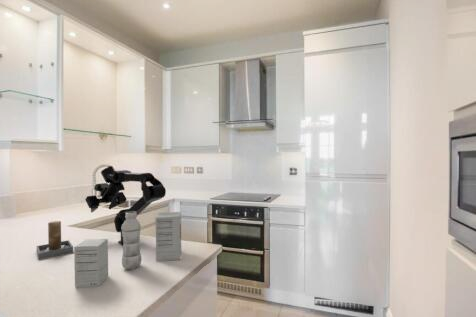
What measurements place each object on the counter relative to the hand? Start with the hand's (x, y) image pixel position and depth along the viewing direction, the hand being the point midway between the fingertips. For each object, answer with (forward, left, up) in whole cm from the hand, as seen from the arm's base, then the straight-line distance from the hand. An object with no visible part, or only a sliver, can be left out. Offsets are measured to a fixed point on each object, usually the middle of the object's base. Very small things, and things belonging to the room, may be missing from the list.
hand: (100, 210), depth 132 cm
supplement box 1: (-53, +15, -13) cm, 57 cm away
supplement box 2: (-50, -13, -13) cm, 54 cm away
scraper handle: (-12, +20, -12) cm, 27 cm away
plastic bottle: (-51, +2, -13) cm, 53 cm away
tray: (-12, +21, -13) cm, 27 cm away
